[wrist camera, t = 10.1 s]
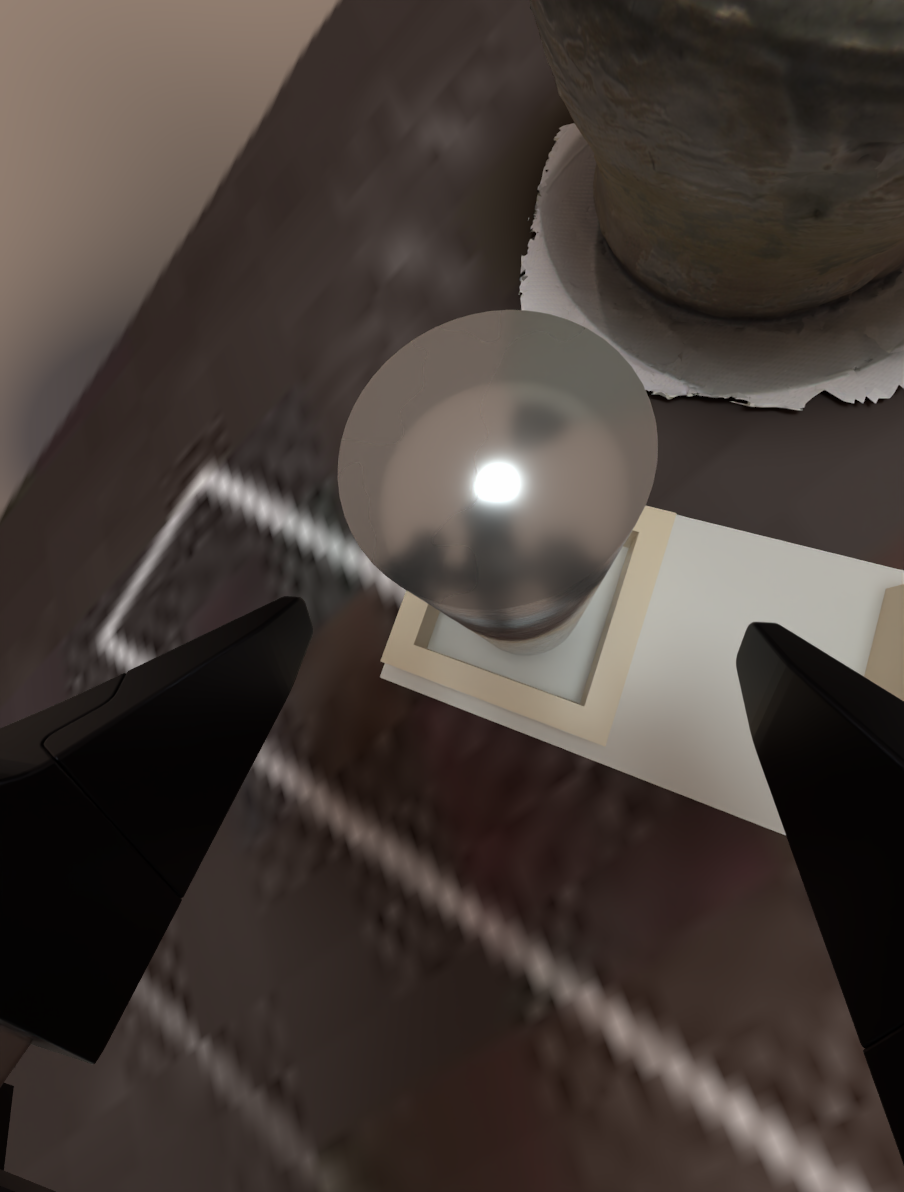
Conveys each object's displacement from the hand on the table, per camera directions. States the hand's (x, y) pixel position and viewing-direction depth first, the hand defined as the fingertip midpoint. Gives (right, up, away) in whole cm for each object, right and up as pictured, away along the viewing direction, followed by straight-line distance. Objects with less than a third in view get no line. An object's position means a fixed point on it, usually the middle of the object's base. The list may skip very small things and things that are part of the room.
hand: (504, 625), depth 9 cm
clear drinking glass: (+2, 0, +9) cm, 9 cm away
